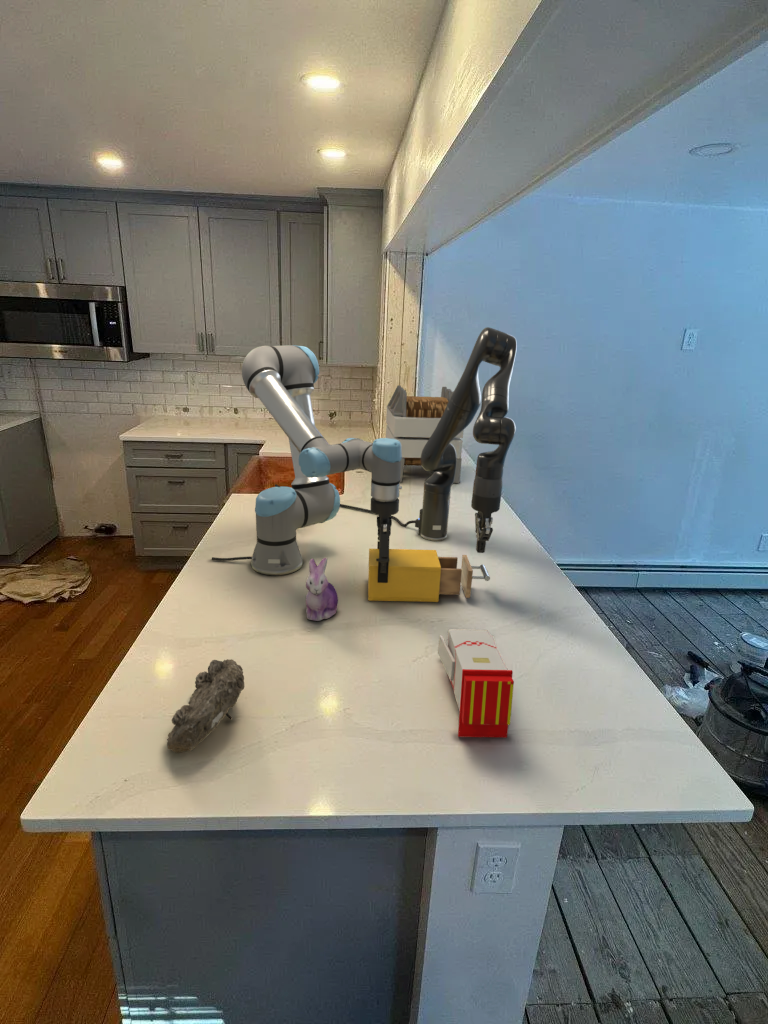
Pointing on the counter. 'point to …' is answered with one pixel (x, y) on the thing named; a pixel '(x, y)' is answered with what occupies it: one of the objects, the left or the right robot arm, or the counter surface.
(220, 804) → the counter surface
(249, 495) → the counter surface
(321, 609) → the figurine
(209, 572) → the counter surface
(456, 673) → the toy
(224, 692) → the fossil
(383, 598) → the cabinet
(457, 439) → the grey crate
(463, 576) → the drawer
